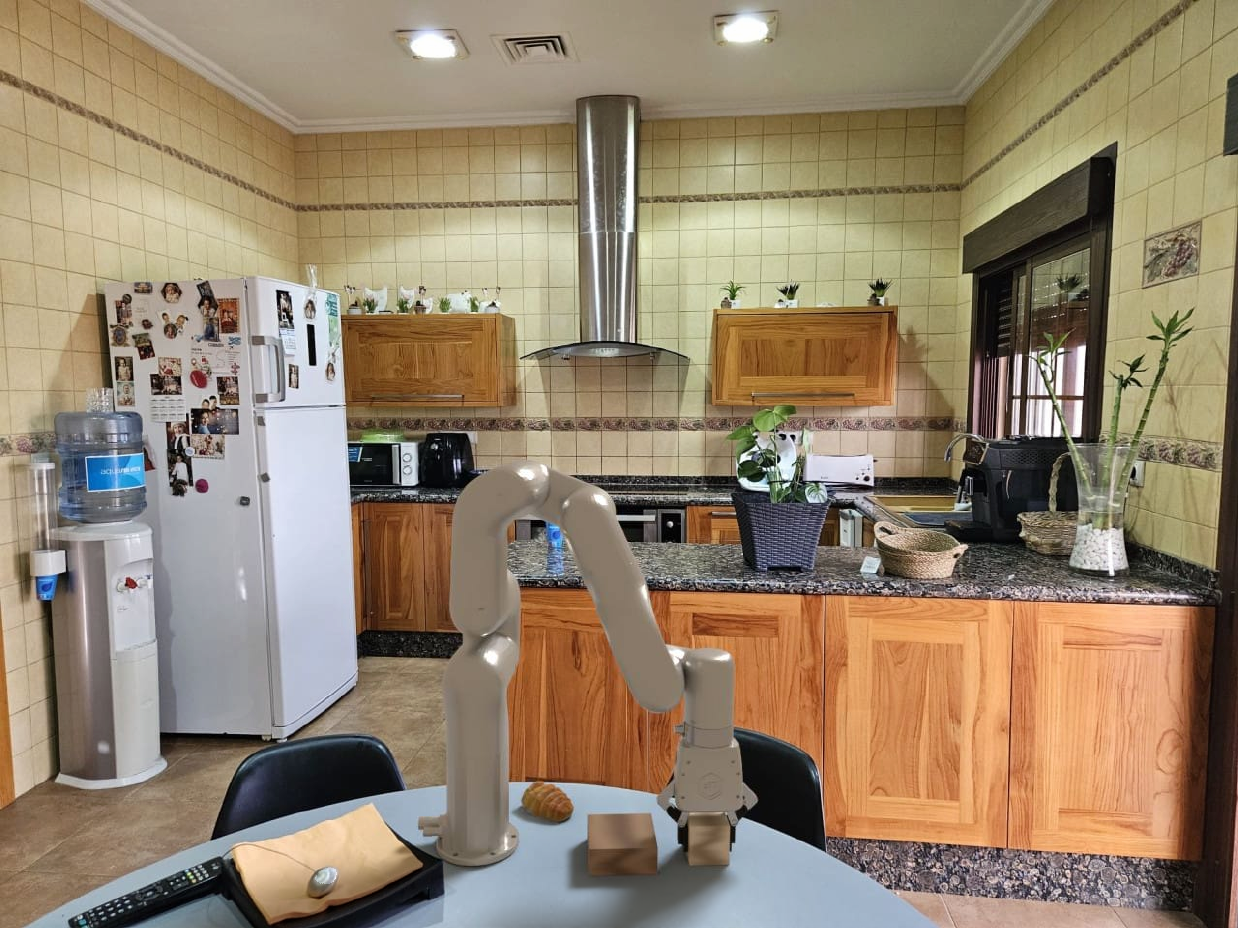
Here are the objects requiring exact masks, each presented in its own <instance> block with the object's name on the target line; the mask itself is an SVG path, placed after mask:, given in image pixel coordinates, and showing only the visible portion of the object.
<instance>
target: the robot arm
mask: <svg viewBox="0 0 1238 928" xmlns="http://www.w3.org/2000/svg"><path fill="white" fill-rule="evenodd" d="M526 516H532V517H533V518H537V519H539V520H542V521H544V522H545V523H548V524H551V525H553V526H556V527H558V528H559V532H560V534H561V536H562V539H563V540H564V543H565V545H566V547H567V549H568V552H569V553H570V555H571V557H572V560H573V562H574V564H575V565H576V568H577V570H578V571H579V574H580V576H581V578H582V580H583V583H584V584H585V587H586V589H587V591H588V594H589V595H590V597H591V599H592V601H593V604H594V608H595V610H596V614H597V617H598V619H599V622H600V624H601V626H602V629H603V631H604V633H605V636H606V639H607V642H608V644H609V646H610V647H609V648H610V650H611V652H612V655H613V657H614V659H615V662H616V664H617V666H618V668H619V669H618V670H620V673H621V675H622V677H623V678H624V680H625V683H626V685H627V686H628V687H627V688H628V690H629V691H630V693H631V695H632V698H634V700H635V702H637V704H638V706H639V707H641V708H643V709H644V710H645V711H647V712H649V713H653V714H665V713H667V712H670V711H672V710H674V709H675V708H676V707H677V706H678V705H679V703H680V702H681V701H682V699H683V717H682V721H681V722H680V723H678V724H674V725H673V734H674V735H679V736H680V737H679V739H678V742H677V746H676V752H675V759H674V768H673V769H674V770H673V779H672V780H671V781H670V782H669V784H667V786H665V788H664V789H662V791H661V792H660V793H658V794H657V795H656V797H655V798H656V804H657V805H658V806H659V807H661V809H662V810H664V811H665V812H666V813H667V815H668V816H669V817H670V818H671V819H672V820H673V821H674V822H675V823H676V824H677V828H676V831H677V837H676V838H677V845H681V849H682V851H683V853H684V854H686V853H687V852H688V825H687V819H688V817H689V815H690V812H725V813H726V816H727V819H728V821H729V824H730V853H732V851H733V844H736V837H737V835H736V833H737V831H736V830H737V829H736V827H737V826H738V825H739V823H740V822H739V821H741V819H743V818H744V817H745V815H746V814H747V813H749V810H751V809H752V808H753V807H754V806H755V805H756V804H757V803H758V801H759V799H758V796H757V794H755V792H754V791H753V790H752V789H750V788H749V786H748V785H747V784H746V783H745V782H743V769H742V767H743V764H742V757H741V748H740V744H739V742H738V741H737V739H736V737H734V719H735V718H734V716H735V715H734V714H735V713H734V712H735V674H736V673H735V672H736V671H735V669H736V668H735V667H736V666H735V659H734V657H733V655H732V654H731V653H729V652H728V651H726V650H724V649H722V648H721V649H720V648H714V647H700V648H691V647H690V648H689V647H683V646H678V645H672V644H668V643H665V640H664V639H663V636H662V633H661V631H660V629H659V625H658V622H657V621H656V618H655V614H654V611H653V606H652V603H651V598H650V592H649V588H648V585H647V581H646V578H645V576H644V573H643V571H642V569H641V567H640V565H639V563H638V561H637V559H636V557H635V555H634V553H633V551H632V548H631V547H630V544H629V543H628V540H627V538H626V536H625V534H624V531H623V529H622V527H621V525H620V522H619V521H618V518H617V508H616V504H615V502H614V500H613V498H612V496H611V495H610V494H609V493H608V492H607V491H606V490H605V489H602V488H600V487H599V486H597V485H594V484H591V483H588V482H586V481H583V480H581V479H579V478H576V477H574V476H571V475H569V474H567V473H564V472H562V471H559V470H557V469H555V468H552V467H550V466H549V465H545V464H543V463H541V462H539V461H536V460H531V459H517V460H513V461H509V462H506V463H502V464H500V465H498V466H495V467H493V468H491V469H489V470H486V471H485V472H483V473H482V474H480V475H478V476H477V477H475V478H473V480H471V481H470V482H469V483H468V484H467V485H466V486H465V487H464V489H462V491H461V493H460V494H459V496H458V498H457V499H456V503H455V506H454V508H453V513H452V519H451V522H452V523H451V549H450V551H451V552H450V568H449V569H450V571H449V572H450V574H449V575H450V576H449V577H450V578H449V582H450V583H449V603H448V604H449V605H448V606H449V607H448V608H449V615H450V619H451V621H452V624H453V625H454V627H455V628H456V629H457V630H458V631H459V632H460V633H461V634H462V645H460V647H458V649H457V650H456V651H455V652H454V653H453V654H452V656H451V657H450V658H449V661H448V662H447V664H446V666H445V669H444V672H443V676H442V681H441V692H442V701H443V709H444V716H445V717H444V718H445V719H444V721H445V753H446V754H445V757H446V758H445V761H446V764H445V767H446V772H445V773H446V775H445V777H446V779H445V780H446V787H445V788H446V789H445V791H446V793H445V794H446V811H445V814H444V813H443V814H439V816H419V817H418V821H417V829H418V831H422V837H423V838H427V837H428V838H429V837H430V838H431V837H437V838H436V840H435V841H436V843H435V844H436V846H435V848H436V852H437V853H438V855H439V857H440V858H441V859H443V860H444V861H447V862H448V863H451V864H453V865H457V866H461V867H462V866H463V867H479V866H486V865H491V864H494V863H497V862H500V861H502V860H504V859H506V858H507V857H509V856H511V855H512V854H513V853H514V851H515V850H517V848H518V846H519V842H520V838H519V837H520V833H519V831H518V829H517V827H516V826H515V825H514V824H512V823H511V822H510V744H509V743H510V741H509V739H510V727H509V726H510V725H509V724H510V723H509V713H508V712H509V711H508V701H507V699H508V698H507V697H508V696H507V693H508V686H509V684H510V682H511V681H512V678H513V676H514V674H515V673H516V671H517V668H518V665H519V662H520V655H521V654H520V651H521V607H522V606H521V600H522V599H521V598H522V597H521V588H520V584H519V581H518V579H517V578H516V576H515V574H514V572H512V571H511V570H510V569H509V568H508V556H509V542H508V530H509V526H510V525H511V524H512V522H514V521H516V520H518V519H521V518H523V517H526ZM673 796H674V802H675V805H674V804H673V803H672V802H670V799H672V798H673Z"/></svg>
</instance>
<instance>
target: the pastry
mask: <svg viewBox="0 0 1238 928" xmlns="http://www.w3.org/2000/svg"><path fill="white" fill-rule="evenodd" d="M523 792H524V793H523V794H522V797H521V799H520V801H521V805H522V806H523V808H524V810H525V812H529V814H530V815H532V816H534V815H535V816H534V817H538V818H539V817H540V818H539V819H542V818H543V819H544V820H546V819H547V820H546V821H549V820H550V821H549V822H560V823H561V822H562V821H563V822H564V821H565V820H566V819H569V818H570V817H572V815H573V812H574V809H575V807H574V805H573V803H572V802H571V801H572V800H571V799H570V798H569V797H568V795H567V793H565V792H564V791H563V790H562V789H561V788H560V787H558V786H556V785H554V784H553V783H545V781H542V780H541V781H538V780H537V781H534V782H533V783H531V784H530V785H529V786H528V787H527V788H526V789H525V791H523ZM543 819H542V820H543Z"/></svg>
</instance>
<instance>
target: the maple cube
mask: <svg viewBox="0 0 1238 928" xmlns="http://www.w3.org/2000/svg"><path fill="white" fill-rule="evenodd" d="M726 815H727V813H726V812H690V815H689V817H688V819H687V825H688V852H687V853H685V854H686V858H687V861H688V865H689V866H695V867H696V866H726V865H727V866H729V865H730V853H731V852H730V824H729V821H728V819H727V816H726Z"/></svg>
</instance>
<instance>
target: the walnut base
mask: <svg viewBox="0 0 1238 928" xmlns="http://www.w3.org/2000/svg"><path fill="white" fill-rule="evenodd" d="M654 827H655V826H654V822H653V817H652V813H651V812H635V813H593V814H592V813H589V814H588V813H587V860H588V861H587V862H588V863H587V865H588V876H589V877H593V876H595V877H599V876H600V877H601V876H634V875H635V876H637V875H639V876H640V875H644V876H645V875H658V861H659V860H658V858H659V857H658V855H659V847H658V842H657V838H656V833H655V828H654Z"/></svg>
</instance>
